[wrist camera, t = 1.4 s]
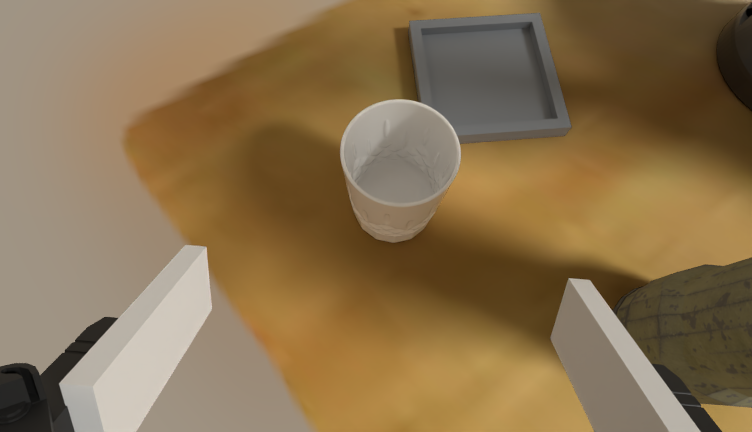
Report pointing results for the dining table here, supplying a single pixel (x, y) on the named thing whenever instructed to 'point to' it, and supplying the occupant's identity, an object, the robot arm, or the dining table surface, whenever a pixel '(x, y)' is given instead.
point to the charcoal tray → (489, 76)
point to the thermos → (698, 329)
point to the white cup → (398, 166)
